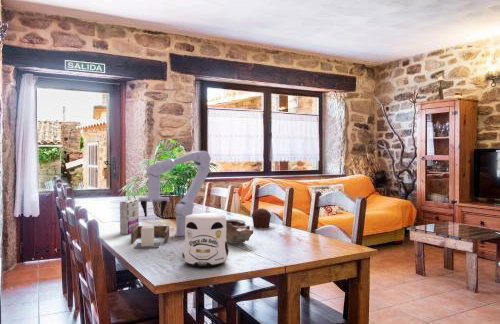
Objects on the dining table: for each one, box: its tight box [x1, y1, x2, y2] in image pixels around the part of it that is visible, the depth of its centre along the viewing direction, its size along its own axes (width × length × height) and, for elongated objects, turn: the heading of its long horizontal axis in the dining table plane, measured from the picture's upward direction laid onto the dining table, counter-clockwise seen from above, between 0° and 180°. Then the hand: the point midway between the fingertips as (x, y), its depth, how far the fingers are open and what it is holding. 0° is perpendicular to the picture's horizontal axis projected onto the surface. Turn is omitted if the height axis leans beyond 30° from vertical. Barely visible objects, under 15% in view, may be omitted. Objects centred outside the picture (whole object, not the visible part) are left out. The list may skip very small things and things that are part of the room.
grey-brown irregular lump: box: [226, 219, 254, 244], centre depth 186 cm, size 13×20×10 cm, turn 26°
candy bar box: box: [119, 199, 140, 235], centre depth 206 cm, size 11×5×16 cm, turn 168°
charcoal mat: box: [134, 241, 161, 250], centre depth 177 cm, size 10×9×1 cm
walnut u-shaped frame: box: [130, 225, 170, 245], centre depth 190 cm, size 16×16×5 cm
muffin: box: [251, 208, 272, 229], centre depth 225 cm, size 12×11×10 cm
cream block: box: [140, 225, 155, 246], centre depth 177 cm, size 5×5×8 cm
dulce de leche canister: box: [182, 212, 229, 268], centre depth 151 cm, size 17×17×18 cm
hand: (153, 216), depth 194 cm, fingers open, 7 cm apart
